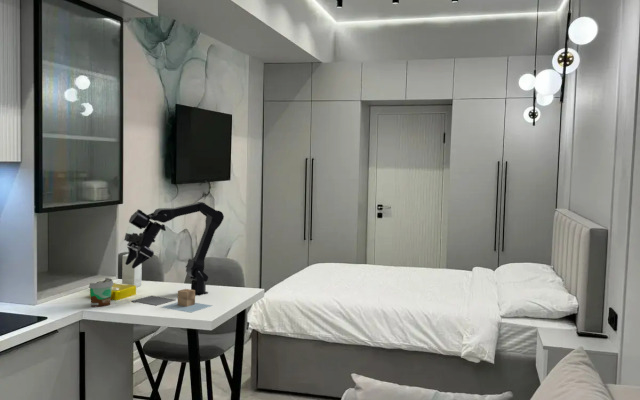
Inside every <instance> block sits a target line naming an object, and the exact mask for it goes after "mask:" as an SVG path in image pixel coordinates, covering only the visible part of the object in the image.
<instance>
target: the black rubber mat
mask: <svg viewBox="0 0 640 400" xmlns="http://www.w3.org/2000/svg"><path fill="white" fill-rule="evenodd" d="M175 301H176V298H175V299H174V298H169V297H168V298H167V297H164V296H163V297H161V296H156V295H149V296H145V297H140V298H137V299H133V300H131V303H139V304H143V305H144V304H145V305H149V306H155V307H156V306H161V305H164V304H168V303H171V302H175Z"/></svg>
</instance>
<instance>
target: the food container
mask: <svg viewBox="0 0 640 400" xmlns="http://www.w3.org/2000/svg"><path fill="white" fill-rule="evenodd" d="M113 283H114V281H113V279H112V278H109V277H105V279H104V280H101V281H97V282H90V283H89V285H88V288H89V297H90V296H91V298H90V308H101V307H107V306H110V305H111V301H112V300H111V289H112V286H113Z"/></svg>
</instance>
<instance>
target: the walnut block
mask: <svg viewBox="0 0 640 400" xmlns="http://www.w3.org/2000/svg"><path fill="white" fill-rule="evenodd" d="M177 302H178V305H180V306H186V307H188V306H191V305H194V304H195V303H196V295H195V290H191V288H184V289H180V290H177Z"/></svg>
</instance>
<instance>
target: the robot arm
mask: <svg viewBox="0 0 640 400" xmlns="http://www.w3.org/2000/svg"><path fill="white" fill-rule="evenodd" d="M198 212H200V213H201V214H202V215H203V216H204V217H205V221H204V222H205V228H204V230H203V233H202V236H201V238H200V240H199V244H198V247H197V249H196V252H195V255H194V256H193V257H192V259H190V258H188V260H187V264H186V265H185V268H186V269H185V272H186V274H187V275H188V277H189V279H191V285H190V290H195V296H202V295H205V294H208V293H209V292H208V291H206V287H207V286H206V284H207V281H208V279H209V275H207V274H206V273H205V272H204V271H205V259H206V256H207V255H208V252H209V248H210V246H211V243H212V241H213V238H214V236H215V235H214V234H215V233H216V230H218V228H219V227H220V226H221V224H222V222H223V221H224V217H225V216H224V213H223V212H222V211H221V210H216V209H214V208H213V207H211V206H209V205H208V204H206V203H205V202H203V201H198V202H195V203H190V204H185V205H181V206H177V207H173V208H172V207H168V208H167V207H165V208H164V207H163V208H156V209H155V210H154V211H153V212H151V213H149V214H146V213H145V212H143V210H141V209H137V210H136V211H135V212H134V213H133V214H132V215H131V216H130V217H129V219H128V223H130V224H131V225H133V226H134V227H136V228H138V229H140V230H143V229H144V230H143V231H142V232H140V233H139V234H138V233H135V232H132V233H127V232H126V233H125V236H124V240H123V241H125V242H127V244H126V247H127V249H128V253H127V254H128V256H127V260H126V263H125V264H126V265H128V264H129V263H131V262H132V261H133V260H134V259H135V261H134V263H133V265H132V268H136V267H137V266H138V265H140V264H141V263H142V264H143V263H144V262H146V261H148V260H150V258H153V256H154V254H155V253H154V250H152V249H151V248H150V247H151V245H152V244H153V243H155V242H156V237H157V236H158V234H159V233H160V231H161V230H162V231H163V232H166V225H165V223H167V222H169V221H172V220H173V219H175V218H177V217H181V216H186V215H189V214H195V213H198ZM161 223H163V224H161Z"/></svg>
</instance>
